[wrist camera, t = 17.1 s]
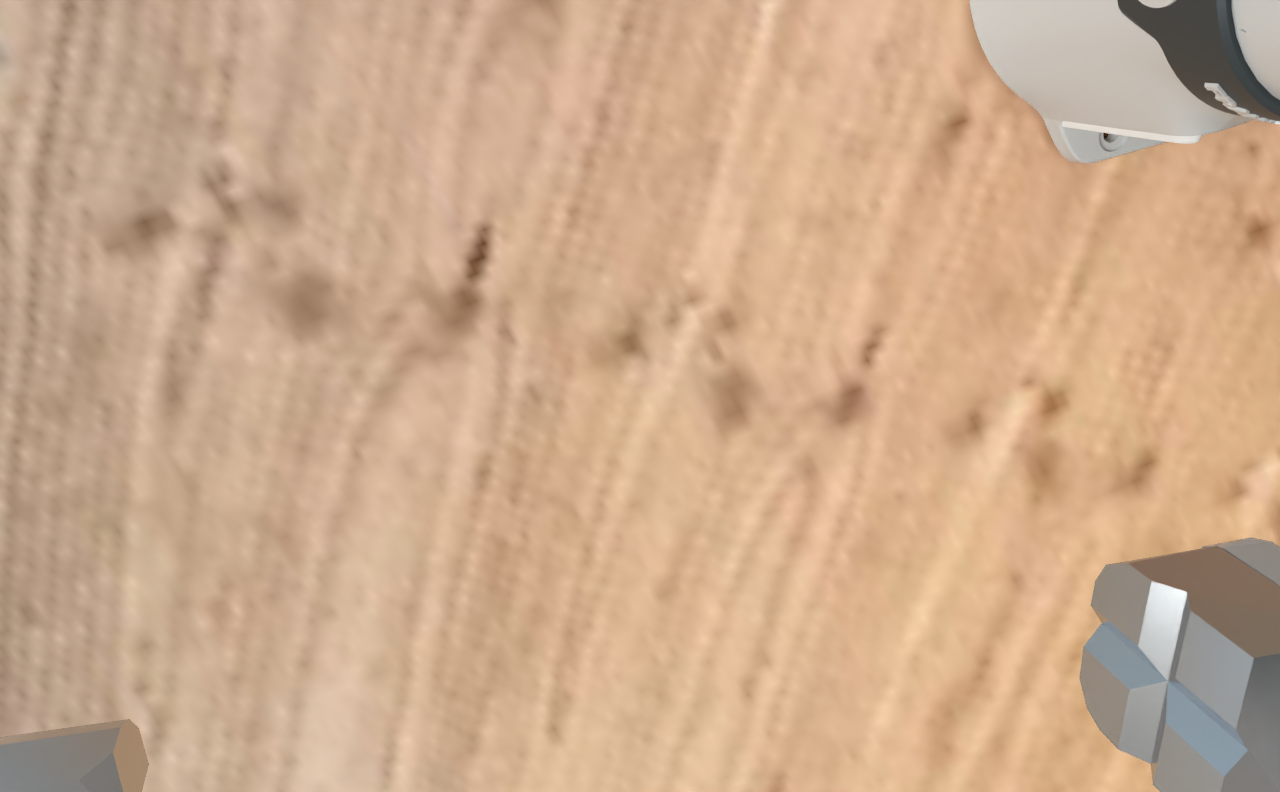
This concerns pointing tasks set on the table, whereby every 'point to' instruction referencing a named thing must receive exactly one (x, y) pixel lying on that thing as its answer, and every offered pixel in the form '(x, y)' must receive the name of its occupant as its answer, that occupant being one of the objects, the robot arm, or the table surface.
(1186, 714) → the robot arm
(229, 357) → the table surface
